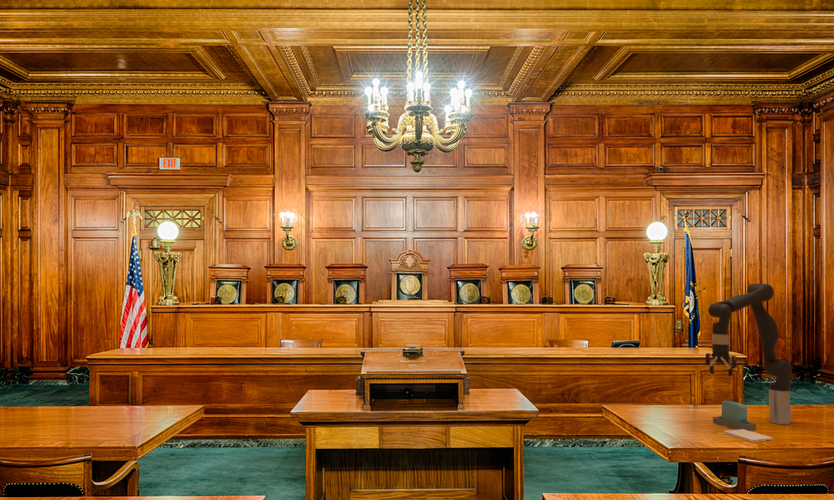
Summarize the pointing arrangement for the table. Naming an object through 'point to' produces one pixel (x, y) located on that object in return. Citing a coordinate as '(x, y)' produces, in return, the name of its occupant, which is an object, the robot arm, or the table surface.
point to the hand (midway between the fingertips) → (721, 375)
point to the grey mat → (747, 435)
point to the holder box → (734, 424)
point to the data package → (734, 412)
